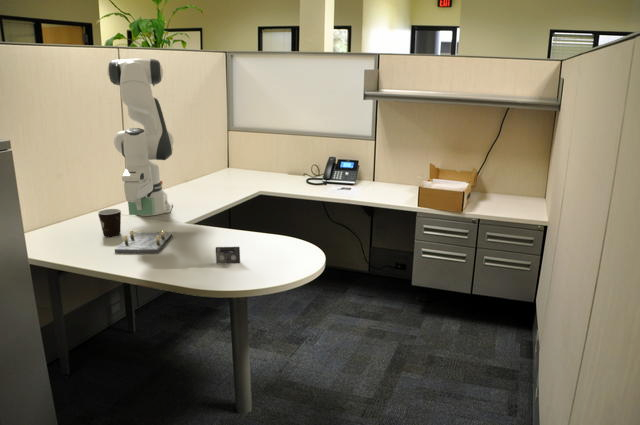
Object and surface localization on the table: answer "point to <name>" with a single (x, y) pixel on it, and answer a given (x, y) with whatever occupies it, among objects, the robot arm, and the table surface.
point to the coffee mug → (110, 222)
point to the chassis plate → (144, 242)
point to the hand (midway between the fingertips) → (141, 208)
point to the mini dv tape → (227, 255)
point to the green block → (147, 207)
